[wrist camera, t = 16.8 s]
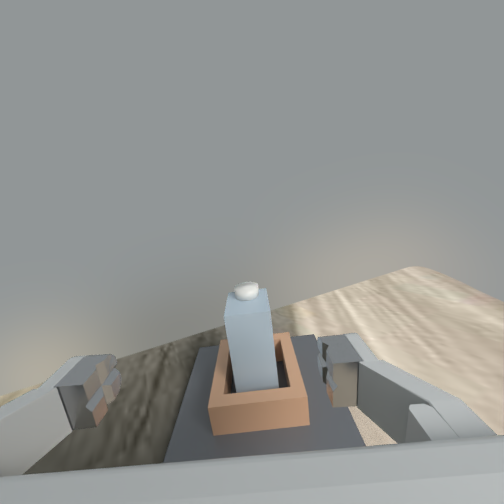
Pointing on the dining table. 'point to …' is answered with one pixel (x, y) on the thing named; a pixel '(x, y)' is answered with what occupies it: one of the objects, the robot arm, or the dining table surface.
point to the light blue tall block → (250, 338)
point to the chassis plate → (259, 408)
